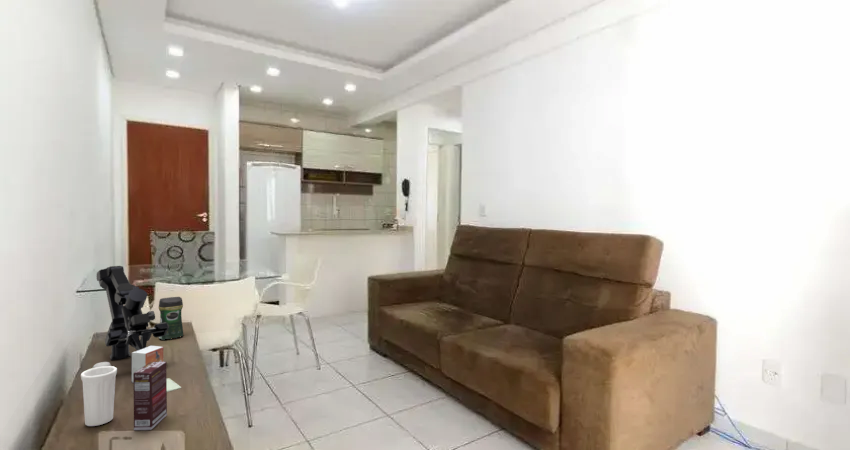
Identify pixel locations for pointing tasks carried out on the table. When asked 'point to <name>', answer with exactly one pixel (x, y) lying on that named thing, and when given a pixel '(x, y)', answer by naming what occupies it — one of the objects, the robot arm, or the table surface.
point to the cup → (98, 394)
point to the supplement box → (150, 395)
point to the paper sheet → (172, 385)
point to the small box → (146, 357)
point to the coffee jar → (171, 316)
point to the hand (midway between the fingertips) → (143, 354)
